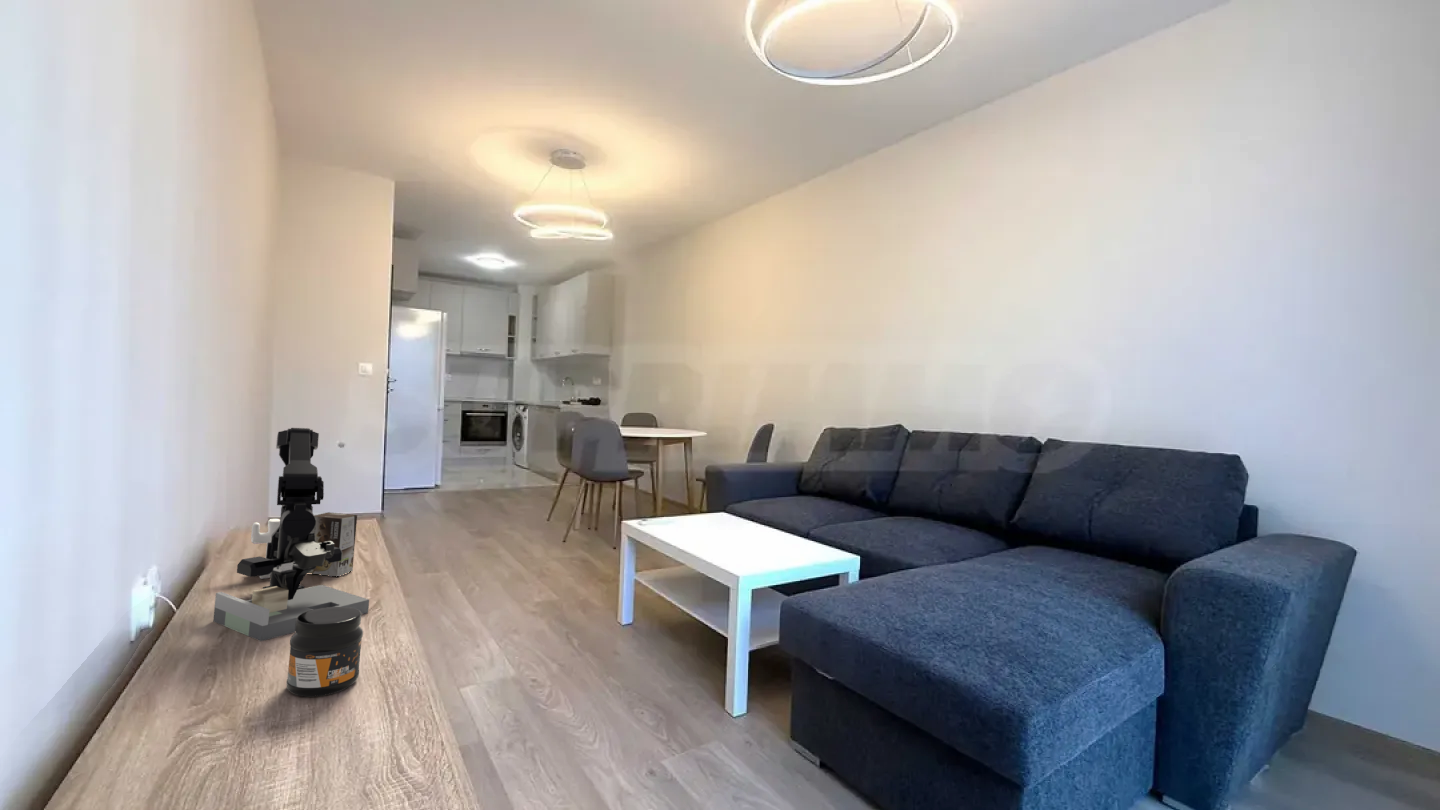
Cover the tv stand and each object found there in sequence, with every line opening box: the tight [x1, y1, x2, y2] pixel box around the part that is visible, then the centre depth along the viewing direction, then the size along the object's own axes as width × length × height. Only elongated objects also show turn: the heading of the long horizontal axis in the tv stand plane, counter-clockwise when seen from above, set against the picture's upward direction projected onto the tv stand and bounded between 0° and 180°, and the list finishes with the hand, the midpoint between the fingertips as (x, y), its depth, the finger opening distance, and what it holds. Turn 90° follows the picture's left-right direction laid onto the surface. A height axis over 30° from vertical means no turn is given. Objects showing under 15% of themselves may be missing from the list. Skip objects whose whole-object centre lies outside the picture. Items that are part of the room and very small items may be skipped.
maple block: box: [251, 586, 289, 613], centre depth 127 cm, size 4×4×4 cm
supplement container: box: [286, 607, 364, 698], centre depth 103 cm, size 10×10×12 cm
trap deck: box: [212, 584, 370, 642], centre depth 132 cm, size 18×22×6 cm
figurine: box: [250, 518, 280, 580], centre depth 159 cm, size 7×9×15 cm
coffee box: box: [308, 511, 358, 578], centre depth 165 cm, size 9×6×16 cm
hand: (289, 599), depth 131 cm, fingers closed
